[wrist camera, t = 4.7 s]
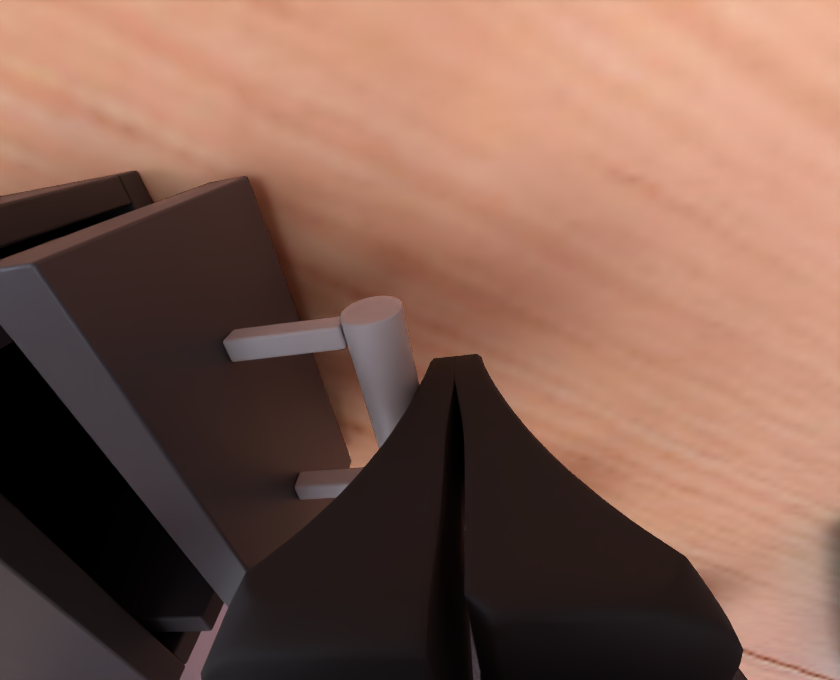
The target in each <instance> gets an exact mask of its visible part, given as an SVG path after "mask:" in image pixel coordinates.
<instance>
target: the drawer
mask: <svg viewBox="0 0 840 680" xmlns="http://www.w3.org/2000/svg"><path fill="white" fill-rule="evenodd" d="M347 345H348V348H349V351H350V355H351V358H352V361H353V364H354V368H355V371H356V374H357V377H358V381H359V384H360V387H361V390H362V394H363V397H364V400H365V403H366V407H367V410H368V413H369V417H370V420H371V423H372V426H373V430H374V433H375V436H376V439H377V443H378V446H379V449H380V447H381V446H382V445H383V443H384V442H385V441H386V439H387V438H388V437H389V435H390V434H391V432H392V431H393V429H394V428H395V426H396V425H397V423H398V422H399V420H400V419H401V417H402V416H403V414H404V413H405V411H406V409H407V408H408V406H409V404H410V402H411V401H412V399H413V397H414V395H415V394H416V392H417V390H418V388H419V381H418V376H417V371H416V367H415V362H414V357H413V352H412V348H411V343H410V338H409V334H408V329H407V324H406V319H405V315H404V310H403V305H402V303H401V301H400V300H399V299H398V298H396V297H392V296H373V297H368V298H364V299H361V300H358V301H356V302H354V303H352V304H350V305H348V306H347V307H346V308H345V309H343V311H342V312H341V314H340V316H338V317H330V318H322V319H314V320H306V321H300V319H299V316H298V313H297V310H296V308H295V305H294V302H293V299H292V297H291V294H290V291H289V288H288V286H287V283H286V280H285V277H284V275H283V272H282V269H281V266H280V264H279V261H278V258H277V256H276V253H275V250H274V247H273V245H272V242H271V239H270V236H269V234H268V231H267V228H266V225H265V223H264V220H263V217H262V214H261V212H260V209H259V206H258V203H257V201H256V198H255V195H254V192H253V190H252V187H251V184H250V181H249V179H248V177H246V176H243V177H237V178H232V179H226V180H221V181H215V182H210V183H207V184H204V185H202V186H199V187H196V188H193V189H191V190H188V191H185V192H183V193H180V194H177V195H174V196H172V197H169V198H166V199H164V200H161V201H158V202H156V203H153V204H150V205H147V206H145V207H142V208H139V209H137V210H134V211H131V212H128V213H126V214H123V215H120V216H118V217H115V218H112V219H109V220H107V221H104V222H101V223H99V224H96V225H93V226H90V227H88V228H85V229H82V230H80V231H77V232H74V233H72V234H69V235H66V236H62V237H56V238H50V239H44V240H38V241H32V242H26V243H20V244H15V245H10V246H7V247H4V248H1V249H0V493H1V494H2V495H3V496H5V497H6V498H7V499H8V500H9V501H10V502H11V503H12V504H13V505H14V506H15V507H16V508H17V509H18V510H19V511H21V512H22V513H23V514H24V515H25V516H26V517H27V518H28V519H29V520H30V521H31V522H32V523H33V524H34V525H35V526H37V527H38V528H39V529H40V530H41V531H42V532H43V533H44V534H45V535H46V536H47V537H48V538H49V539H50V540H51V541H53V542H54V543H55V544H56V545H57V546H58V547H59V548H60V549H61V550H62V551H63V552H64V553H65V554H66V555H67V556H69V557H70V558H71V559H72V560H73V561H74V562H75V563H76V564H77V565H78V566H79V567H80V568H81V569H82V570H83V571H85V572H86V573H87V574H88V575H89V576H90V577H91V578H92V579H93V580H94V581H95V582H96V583H97V584H98V585H99V586H101V587H102V588H103V589H104V590H105V591H106V592H107V593H108V594H109V595H110V596H111V597H112V598H113V599H114V600H115V601H117V602H118V603H119V604H120V605H121V606H122V607H123V608H124V609H125V610H126V611H127V612H128V613H129V614H130V615H131V616H133V617H134V618H135V619H136V620H137V621H138V622H139V623H140V624H141V625H142V626H143V627H144V628H145V629H146V630H147V631H149V632H186V631H211V630H212V629H213V627H214V625H215V623H216V621H217V618H218V616H219V614H220V611H221V609H222V607H223V605H224V603H225V604H226V605H227V607H229V605H230V602H231V600H232V598H233V596H234V594H235V592H236V591H237V589H238V587H239V585H240V583H241V581H242V579H243V577H244V575H245V573H246V572H247V571H249V570H250V569H251V568H253V567H254V566H255V565H257V564H258V563H259V562H261V561H262V560H263V559H264V558H266V557H267V556H268V555H270V554H271V553H272V552H273V551H275V550H276V549H277V548H279V547H280V546H281V545H282V544H284V543H285V542H286V541H288V540H289V539H290V538H291V537H293V536H294V535H295V534H296V533H297V532H299V531H300V530H301V529H302V528H303V527H305V526H306V525H307V524H308V523H309V522H310V521H311V520H312V519H314V518H315V517H316V516H317V515H318V514H319V513H320V512H321V511H322V510H323V509H324V508H325V507H326V506H328V505H329V504H330V503H331V502H332V501H333V500H334V499H335V498H336V497H337V496H338V495H339V494H340V493H341V492H342V491H343V490H344V489H345V488H346V487H347V486H348V485H349V484H350V483H351V481H352V480H353V479H354V478H355V477H356V476H357V475H358V474H359V473H360V471H361V470H362V469H363V468H364V467H362V468H349V467H350V464H351V459H350V456H349V453H348V450H347V448H346V445H345V442H344V439H343V437H342V434H341V431H340V428H339V426H338V423H337V420H336V417H335V415H334V412H333V409H332V406H331V404H330V401H329V398H328V395H327V393H326V390H325V387H324V384H323V382H322V379H321V376H320V373H319V371H318V368H317V365H316V362H315V360H314V357H313V354H312V353H315V352H324V351H332V350H341V349H345V348H346V346H347Z"/></svg>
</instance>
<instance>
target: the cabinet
mask: <svg viewBox="0 0 840 680" xmlns="http://www.w3.org/2000/svg"><path fill="white" fill-rule="evenodd" d="M150 204H153V203H152V201H151V199H150V197H149V195H148V193H147V191H146V189H145V187H144V185H143V183H142V181H141V179H140V177H139V175H138V173H137V172H136V171H131V172H125V173H120V174H115V175H110V176H104V177H99V178H94V179H89V180H83V181H78V182H73V183H68V184H63V185H57V186H52V187H47V188H42V189H36V190H31V191H26V192H21V193H15V194H10V195H5V196H0V249H1V248H4V247H7V246H10V245H15V244H20V243H26V242H32V241H38V240H44V239H50V238H56V237H62V236H66V235H69V234H72V233H74V232H77V231H80V230H82V229H85V228H88V227H90V226H93V225H96V224H99V223H101V222H104V221H107V220H109V219H112V218H115V217H118V216H120V215H123V214H126V213H128V212H131V211H134V210H137V209H139V208H142V207H145V206H147V205H150ZM200 633H201V631H186V632H149V631H147V630H146V629H145V628H144V627H143V626H142V625H141V624H140V623H139V622H138V621H137V620H136V619H135V618H134V617H133V616H131V615H130V614H129V613H128V612H127V611H126V610H125V609H124V608H123V607H122V606H121V605H120V604H119V603H118V602H117V601H115V600H114V599H113V598H112V597H111V596H110V595H109V594H108V593H107V592H106V591H105V590H104V589H103V588H102V587H101V586H99V585H98V584H97V583H96V582H95V581H94V580H93V579H92V578H91V577H90V576H89V575H88V574H87V573H86V572H85V571H83V570H82V569H81V568H80V567H79V566H78V565H77V564H76V563H75V562H74V561H73V560H72V559H71V558H70V557H69V556H67V555H66V554H65V553H64V552H63V551H62V550H61V549H60V548H59V547H58V546H57V545H56V544H55V543H54V542H53V541H51V540H50V539H49V538H48V537H47V536H46V535H45V534H44V533H43V532H42V531H41V530H40V529H39V528H38V527H37V526H35V525H34V524H33V523H32V522H31V521H30V520H29V519H28V518H27V517H26V516H25V515H24V514H23V513H22V512H21V511H19V510H18V509H17V508H16V507H15V506H14V505H13V504H12V503H11V502H10V501H9V500H8V499H7V498H6V497H5V496H3V495H2V494H1V493H0V680H180V678H181V676H182V673H183V671H184V669H185V665H184V664H186V663H187V662H188V660H189V657H190V655H191V653H192V651H193V649H194V647H195V644H196V642H197V640H198V638H199V636H200Z"/></svg>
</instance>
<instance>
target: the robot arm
mask: <svg viewBox="0 0 840 680" xmlns="http://www.w3.org/2000/svg"><path fill="white" fill-rule="evenodd" d="M470 625H471V629H472V634H473V639H474V644H475V649H476V654H477V659H478V663H479V668H480V680H732V679H733V677H734V675H735V673H736V672H737V670H738V667H739V665H740V662H741V658H742V653H743V648H742V646H741V644H740V642H739V639H738V637H737V635H736V633H735V631H734V629H733V627H732V625H731V623H730V621H729V619H728V618H727V616H726V614H725V613H724V611H723V609H722V608H721V606H720V605H719V603H718V602H717V600H716V599H715V597H714V596H713V594H712V593H711V591H710V590H709V588H708V587H707V585H706V584H705V582H704V581H703V580H702V578H701V577H700V575H699V574H698V573H697V571H696V570H695V568H694V567H693V566H692V564H691V563H690V562H689V560H688V559H687V558H686V557H685V556H684V555H682V554H681V553H679V552H678V551H676V550H675V549H673V548H672V547H670V546H669V545H667V544H666V543H664V542H663V541H661V540H660V539H658V538H656V537H655V536H653V535H652V534H650V533H649V532H647V531H646V530H644V529H643V528H642V527H640V526H639V525H637V524H636V523H634V522H633V521H631V520H630V519H629V518H627V517H626V516H625V515H623V514H622V513H621V512H619V511H618V510H617V509H615V508H614V507H613V506H611V505H610V504H609V503H607V502H606V501H605V500H603V499H602V498H601V497H600V496H599V495H597V494H596V493H595V492H594V491H593V490H592V489H590V488H589V487H588V486H587V485H586V484H584V483H583V482H582V481H581V480H580V479H578V478H577V477H576V476H575V475H574V474H572V473H571V472H570V471H569V470H568V469H567V468H566V467H565V466H563V465H562V464H561V463H560V462H559V461H558V460H557V459H556V458H555V457H554V456H553V455H552V454H551V453H550V452H549V451H548V450H547V449H546V448H545V447H544V446H543V445H542V444H541V443H540V442H539V441H538V440H537V439H536V438H535V436H534V435H533V434H532V433H531V432H530V431H529V430H528V429H527V427H526V426H525V425H524V424H523V423H522V421H521V420H520V419H519V418H518V416H517V415H516V414H515V413H514V411H513V410H512V409H511V407H510V406H509V405H508V403H507V402H506V401H505V399H504V398H503V396H502V395H501V393H500V392H499V390H498V389H497V387H496V386H495V384H494V383H493V381H492V379H491V377H490V376H489V374H488V372H487V370H486V368H485V366H484V363H483V360H482V357H481V356H479V355H478V354H471V355H462V356H453V357H443V358H434V359H433V360H432V361H431V362H430V364H429V367H428V369H427V372H426V374H425V376H424V378H423V380H422V382H421V384H420V386H419V388H418V390H417V392H416V394H415V395H414V397H413V399H412V401H411V402H410V404H409V406H408V408H407V409H406V411H405V413H404V414H403V416H402V417H401V419H400V420H399V422H398V423H397V425H396V426H395V428H394V429H393V431H392V432H391V434H390V435H389V437H388V438H387V439H386V441H385V442H384V443H383V445H382V446H381V447H380V449H379V450H378V451H377V453H376V454H375V455H374V456H373V457H372V459H371V460H370V461H369V462H368V464H367V465H366V466H365V467H364V468H363V469H362V470H361V471H360V473H359V474H358V475H357V476H356V477H355V478H354V479H353V480H352V481H351V483H350V484H349V485H348V486H347V487H346V488H345V489H344V490H343V491H342V492H341V493H340V494H339V495H338V496H337V497H336V498H335V499H334V500H333V501H332V502H331V503H330V504H329V505H328V506H326V507H325V508H324V509H323V510H322V511H321V512H320V513H319V514H318V515H317V516H316V517H315V518H314V519H312V520H311V521H310V522H309V523H308V524H307V525H306V526H305V527H303V528H302V529H301V530H300V531H299V532H297V533H296V534H295V535H294V536H293V537H291V538H290V539H289V540H288V541H286V542H285V543H284V544H282V545H281V546H280V547H279V548H277V549H276V550H275V551H273V552H272V553H271V554H270V555H268V556H267V557H266V558H264V559H263V560H262V561H261V562H259V563H258V564H257V565H255V566H254V567H253V568H251V569H250V570H249V571H247V572H246V573H245V575H244V577H243V579H242V581H241V583H240V585H239V587H238V589H237V591H236V592H235V594H234V596H233V598H232V600H231V602H230V605H229V607H227V605H226V604H225V603H224V605H223V607H222V609H221V611H220V614H219V616H218V618H217V621H216V623H215V625H214V627H213V629H212V630H211V631H201V633H200V636H199V638H198V640H197V642H196V644H195V647H194V649H193V651H192V653H191V655H190V657H189V660H188V662H187V663H186V664H184V665H185V669H184V671H183V673H182V676H181V678H180V680H474V677H473V662H472V647H471V632H470Z"/></svg>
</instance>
